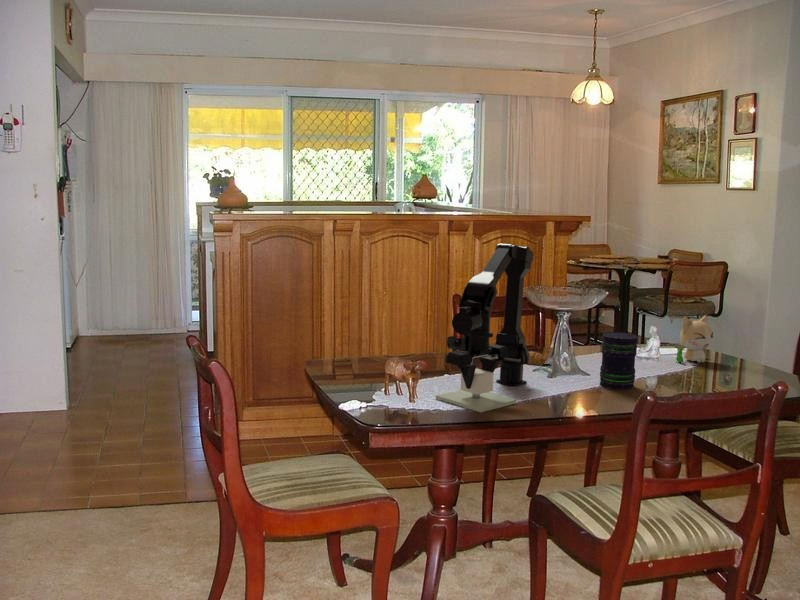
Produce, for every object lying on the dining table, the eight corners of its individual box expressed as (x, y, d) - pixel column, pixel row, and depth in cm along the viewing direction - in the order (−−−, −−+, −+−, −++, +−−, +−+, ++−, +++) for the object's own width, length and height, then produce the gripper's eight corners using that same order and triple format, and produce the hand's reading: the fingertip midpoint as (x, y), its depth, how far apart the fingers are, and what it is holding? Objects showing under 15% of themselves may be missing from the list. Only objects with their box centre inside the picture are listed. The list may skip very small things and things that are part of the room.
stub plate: (471, 390, 233) (471, 378, 233) (516, 403, 222) (516, 390, 221) (435, 398, 224) (436, 386, 224) (480, 412, 212) (481, 399, 212)
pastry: (553, 363, 271) (553, 352, 270) (545, 367, 265) (545, 355, 264) (526, 359, 276) (526, 348, 275) (517, 363, 270) (518, 351, 269)
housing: (475, 386, 227) (476, 368, 226) (492, 391, 222) (493, 372, 222) (460, 389, 223) (461, 371, 222) (477, 394, 218) (478, 375, 218)
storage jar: (609, 391, 237) (613, 339, 235) (592, 382, 246) (596, 332, 244) (641, 389, 240) (644, 338, 238) (623, 381, 249) (626, 331, 247)
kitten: (688, 366, 271) (692, 320, 269) (665, 359, 280) (669, 315, 278) (721, 362, 278) (725, 317, 276) (698, 356, 287) (701, 313, 284)
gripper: (479, 320, 232) (477, 375, 235) (431, 327, 220) (429, 385, 222) (510, 326, 224) (508, 383, 226) (463, 334, 212) (460, 394, 214)
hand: (476, 386), depth 222 cm, fingers closed on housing, 6 cm apart
